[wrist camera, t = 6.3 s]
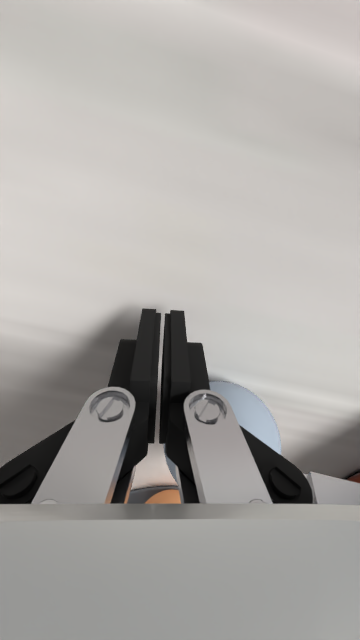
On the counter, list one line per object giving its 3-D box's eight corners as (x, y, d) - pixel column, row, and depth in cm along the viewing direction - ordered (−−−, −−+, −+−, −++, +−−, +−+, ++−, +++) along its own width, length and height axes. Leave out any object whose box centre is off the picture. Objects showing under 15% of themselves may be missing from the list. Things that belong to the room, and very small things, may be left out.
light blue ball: (301, 510, 12) (240, 424, 17) (318, 419, 10) (242, 351, 15) (190, 561, 11) (158, 452, 15) (179, 469, 8) (146, 375, 13)
